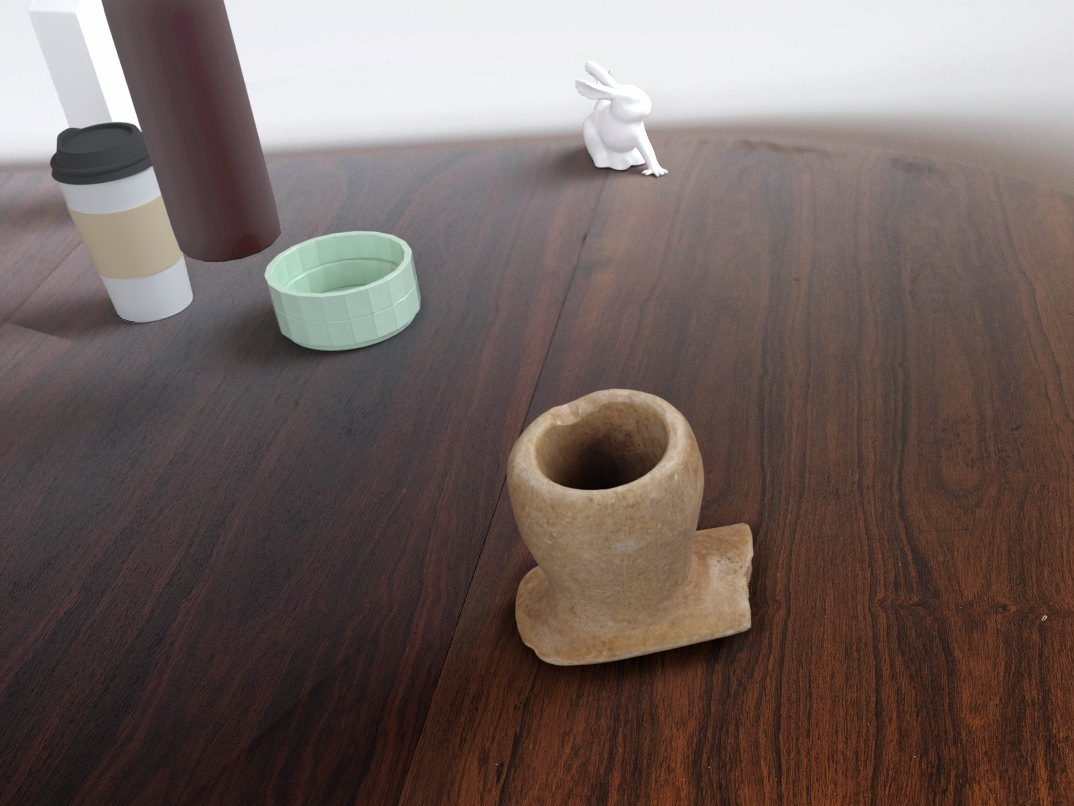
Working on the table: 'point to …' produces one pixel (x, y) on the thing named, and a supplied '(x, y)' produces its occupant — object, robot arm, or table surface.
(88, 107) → the milk
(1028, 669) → the table surface
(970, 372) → the table surface
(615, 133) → the rabbit figurine
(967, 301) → the table surface
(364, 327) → the bowl
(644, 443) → the stone cup
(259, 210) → the beer bottle
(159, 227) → the coffee cup
